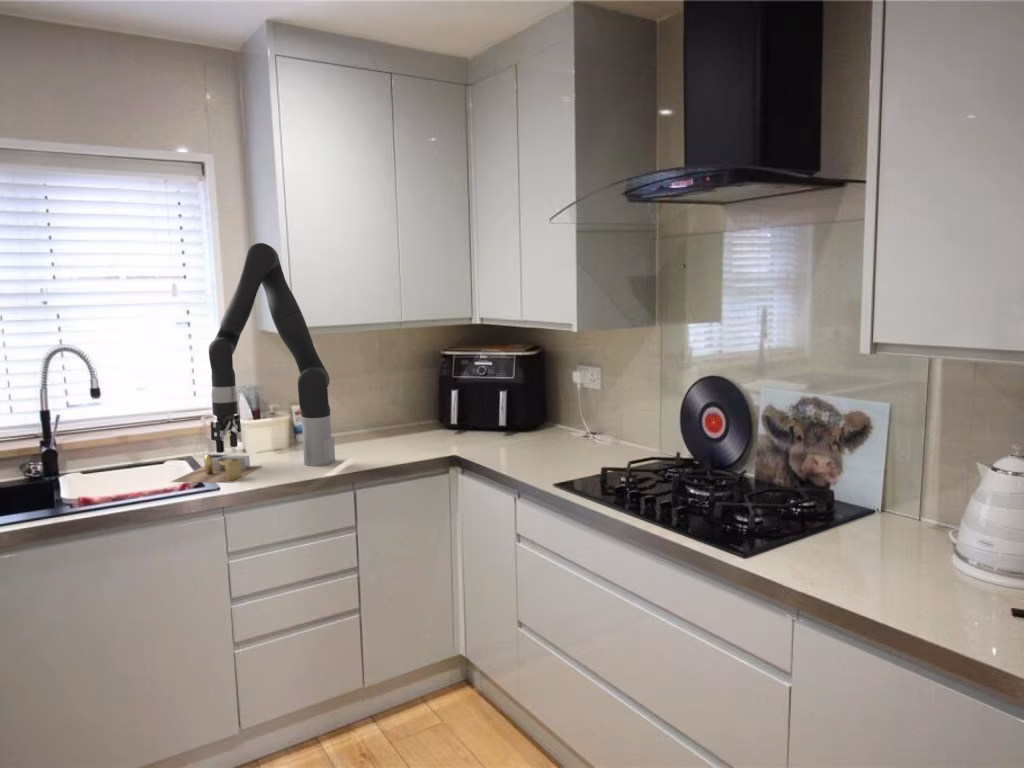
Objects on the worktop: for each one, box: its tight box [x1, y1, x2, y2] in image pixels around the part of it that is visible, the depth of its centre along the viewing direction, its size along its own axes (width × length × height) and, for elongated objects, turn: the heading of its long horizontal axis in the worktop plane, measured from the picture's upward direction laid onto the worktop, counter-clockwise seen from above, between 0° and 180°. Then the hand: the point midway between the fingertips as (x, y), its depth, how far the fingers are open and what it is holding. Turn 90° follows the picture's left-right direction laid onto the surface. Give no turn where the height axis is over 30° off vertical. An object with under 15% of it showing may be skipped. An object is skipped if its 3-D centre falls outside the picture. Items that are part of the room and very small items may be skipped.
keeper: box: [219, 458, 242, 481], centre depth 222 cm, size 5×4×6 cm
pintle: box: [204, 453, 213, 474], centre depth 228 cm, size 2×2×6 cm
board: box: [170, 465, 264, 484], centre depth 228 cm, size 20×20×1 cm
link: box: [204, 454, 251, 471], centre depth 234 cm, size 13×5×4 cm, turn 83°
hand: (227, 449), depth 234 cm, fingers open, 8 cm apart
